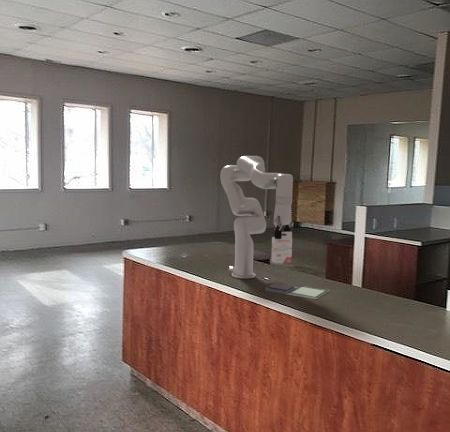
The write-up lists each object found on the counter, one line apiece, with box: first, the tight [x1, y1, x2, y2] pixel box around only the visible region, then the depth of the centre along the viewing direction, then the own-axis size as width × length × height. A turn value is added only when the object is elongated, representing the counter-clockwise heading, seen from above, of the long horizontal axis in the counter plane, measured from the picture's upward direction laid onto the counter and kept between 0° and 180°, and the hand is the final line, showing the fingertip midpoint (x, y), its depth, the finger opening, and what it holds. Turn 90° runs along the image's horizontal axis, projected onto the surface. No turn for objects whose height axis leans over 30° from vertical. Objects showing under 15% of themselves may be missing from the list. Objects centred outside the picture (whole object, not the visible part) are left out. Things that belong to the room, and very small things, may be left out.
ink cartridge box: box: [271, 231, 293, 264], centre depth 227 cm, size 9×5×15 cm, turn 105°
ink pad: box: [265, 282, 297, 295], centre depth 230 cm, size 11×10×2 cm
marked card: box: [286, 285, 330, 300], centre depth 226 cm, size 14×17×1 cm
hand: (282, 237), depth 227 cm, fingers closed on ink cartridge box, 9 cm apart
